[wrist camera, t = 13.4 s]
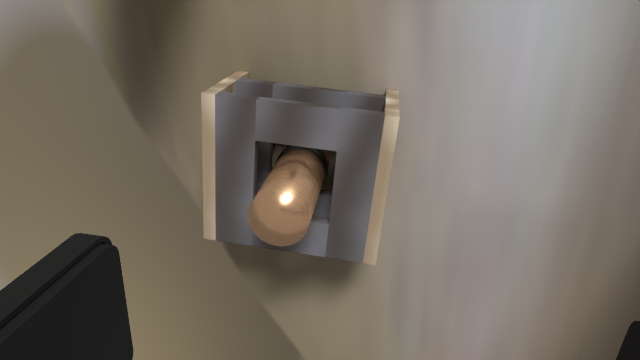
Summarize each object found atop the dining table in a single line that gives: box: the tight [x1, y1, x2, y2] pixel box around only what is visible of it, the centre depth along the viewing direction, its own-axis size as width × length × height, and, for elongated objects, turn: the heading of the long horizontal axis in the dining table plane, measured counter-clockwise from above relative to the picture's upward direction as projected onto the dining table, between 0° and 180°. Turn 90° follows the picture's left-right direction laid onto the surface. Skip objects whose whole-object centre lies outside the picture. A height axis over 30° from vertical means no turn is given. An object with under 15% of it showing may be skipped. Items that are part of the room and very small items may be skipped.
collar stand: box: [201, 71, 400, 265], centre depth 39 cm, size 14×12×8 cm
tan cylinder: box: [248, 145, 334, 246], centre depth 36 cm, size 4×4×14 cm
